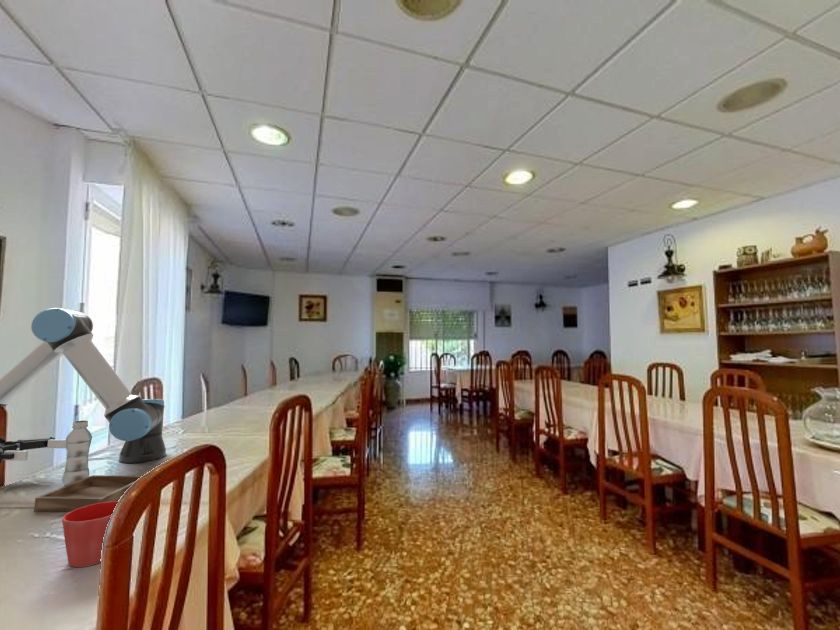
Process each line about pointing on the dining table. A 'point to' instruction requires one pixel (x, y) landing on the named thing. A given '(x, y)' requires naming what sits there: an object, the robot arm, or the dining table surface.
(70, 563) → the flower pot
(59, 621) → the dining table surface
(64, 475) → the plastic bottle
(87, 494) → the walnut tray
